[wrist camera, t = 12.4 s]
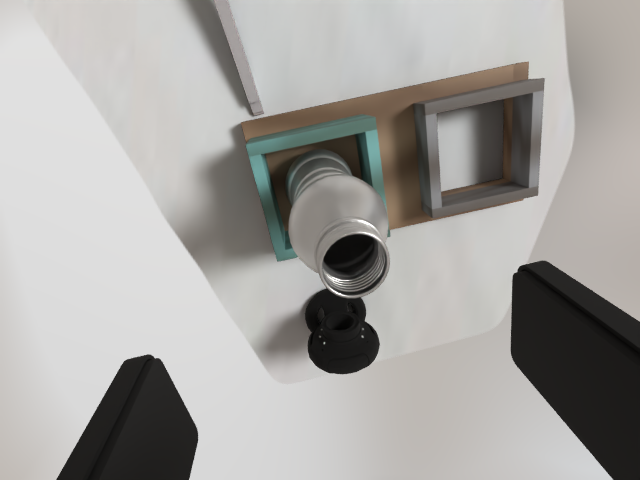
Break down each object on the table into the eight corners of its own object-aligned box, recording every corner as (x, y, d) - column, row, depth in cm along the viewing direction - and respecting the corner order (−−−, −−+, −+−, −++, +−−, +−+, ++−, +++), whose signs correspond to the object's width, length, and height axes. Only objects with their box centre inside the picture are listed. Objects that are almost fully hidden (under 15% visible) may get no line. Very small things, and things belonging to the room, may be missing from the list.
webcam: (363, 280, 42) (385, 331, 33) (367, 330, 45) (389, 390, 36) (299, 291, 42) (305, 345, 33) (308, 340, 45) (315, 403, 36)
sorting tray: (242, 121, 34) (234, 127, 28) (518, 62, 35) (568, 56, 29) (276, 249, 40) (276, 276, 34) (515, 196, 40) (555, 214, 34)
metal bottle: (281, 207, 36) (281, 320, 18) (288, 141, 34) (297, 192, 15) (342, 214, 37) (401, 327, 19) (353, 149, 35) (434, 207, 16)
